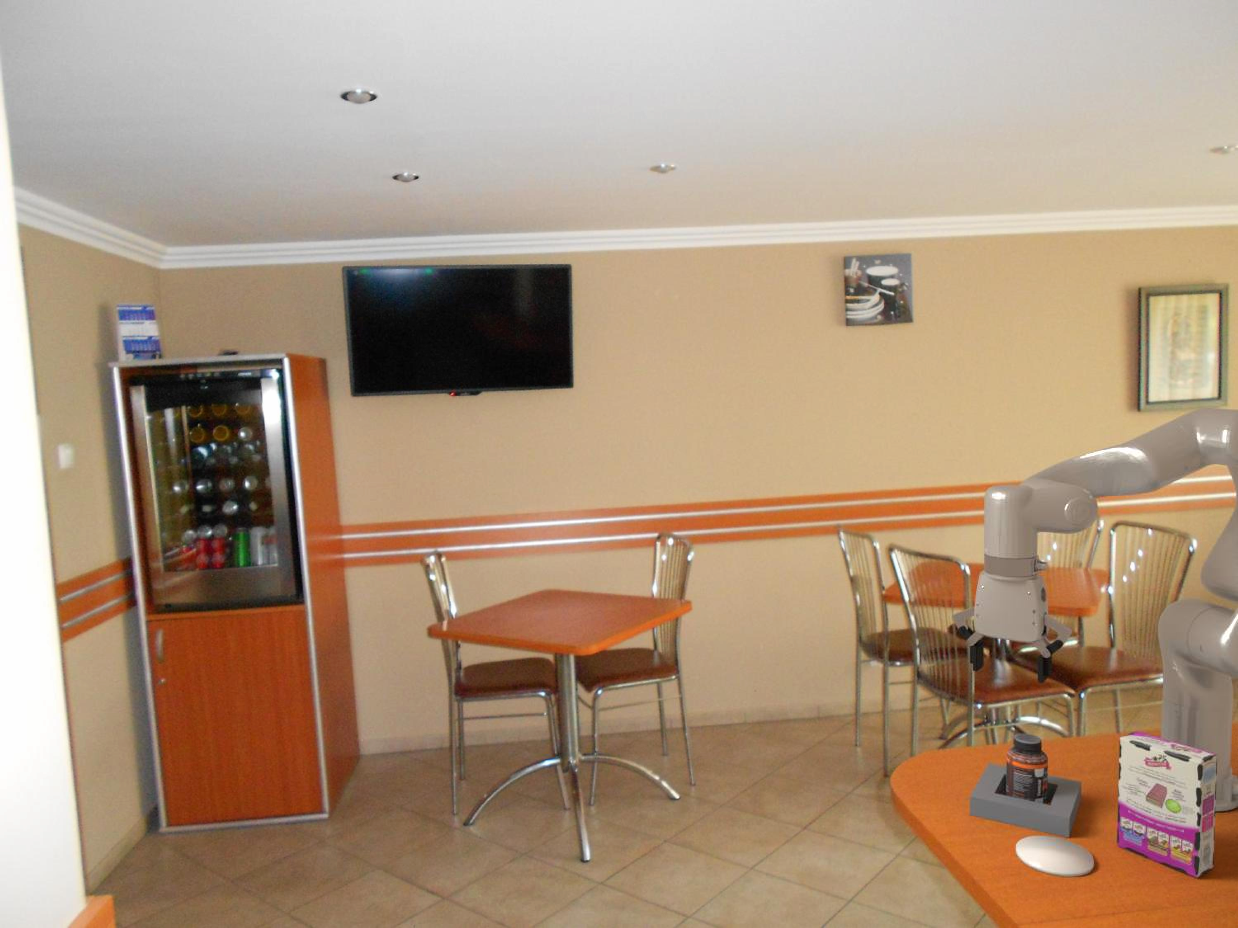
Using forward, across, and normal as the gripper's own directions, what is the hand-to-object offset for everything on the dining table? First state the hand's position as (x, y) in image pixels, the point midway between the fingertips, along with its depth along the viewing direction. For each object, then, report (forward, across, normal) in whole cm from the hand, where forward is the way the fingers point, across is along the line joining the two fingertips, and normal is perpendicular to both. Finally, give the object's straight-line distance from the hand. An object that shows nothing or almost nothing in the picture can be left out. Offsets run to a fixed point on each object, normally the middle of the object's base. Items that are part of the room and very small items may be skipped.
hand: (1009, 674), depth 143 cm
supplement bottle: (+22, -2, -2) cm, 22 cm away
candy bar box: (+22, -22, +2) cm, 31 cm away
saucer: (+22, -9, +11) cm, 26 cm away
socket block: (+22, -2, -2) cm, 22 cm away
